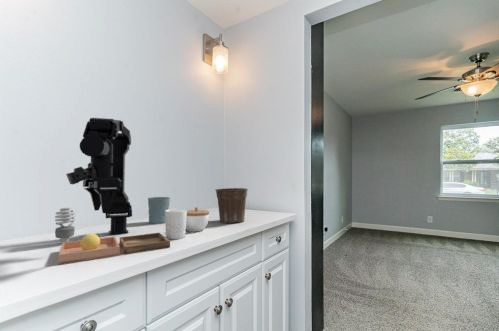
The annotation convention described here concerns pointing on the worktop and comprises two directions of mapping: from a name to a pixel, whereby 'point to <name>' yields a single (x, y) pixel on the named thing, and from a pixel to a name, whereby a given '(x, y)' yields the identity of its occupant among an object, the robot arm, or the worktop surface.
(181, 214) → the white cup
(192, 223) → the lidded jar
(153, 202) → the teal cup
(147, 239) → the tray
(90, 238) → the ball
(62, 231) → the light bulb
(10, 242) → the worktop surface
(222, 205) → the plant pot
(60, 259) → the dish
